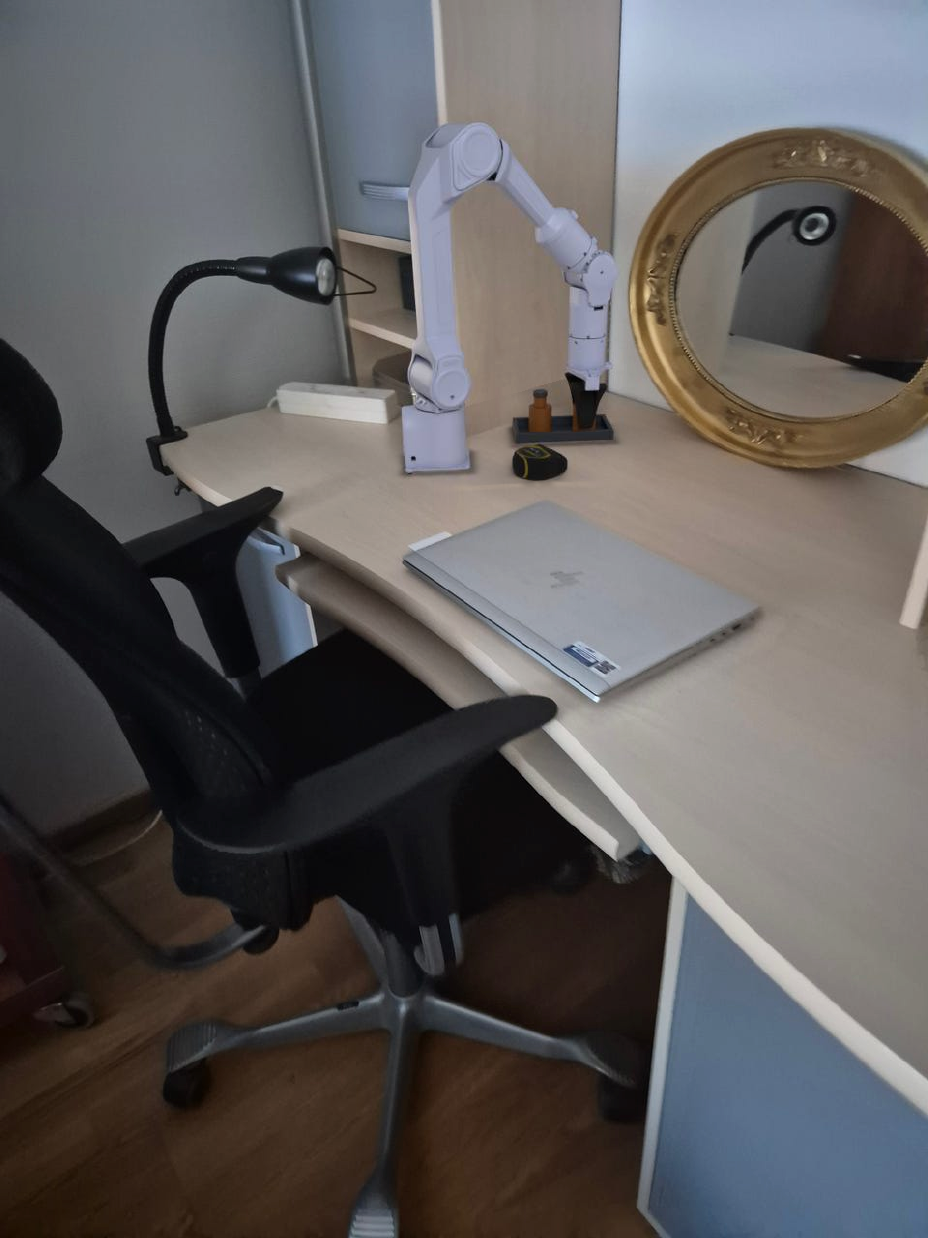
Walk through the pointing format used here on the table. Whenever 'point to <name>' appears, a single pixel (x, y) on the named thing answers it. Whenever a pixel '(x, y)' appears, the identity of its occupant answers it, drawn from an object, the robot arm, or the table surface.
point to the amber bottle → (575, 422)
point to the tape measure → (538, 462)
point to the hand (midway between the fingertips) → (583, 422)
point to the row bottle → (540, 412)
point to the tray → (562, 430)
